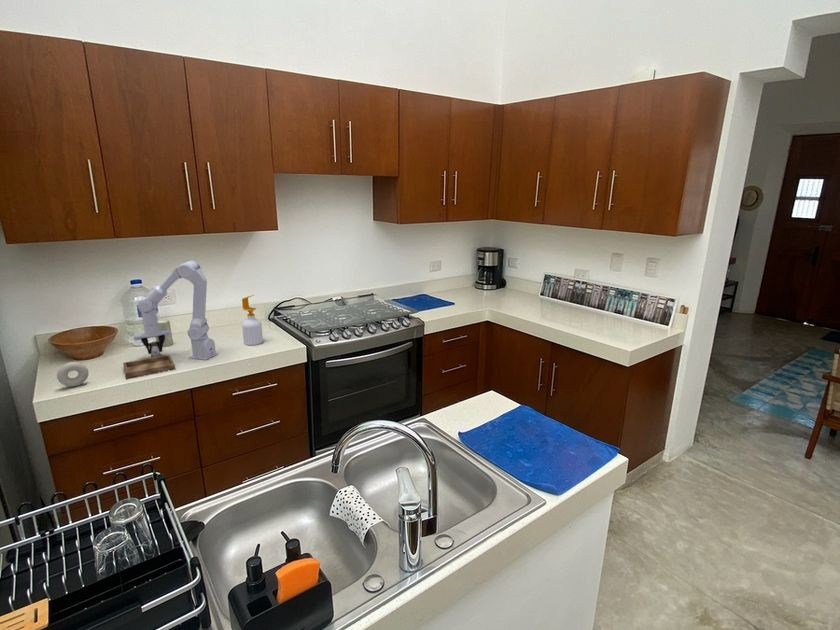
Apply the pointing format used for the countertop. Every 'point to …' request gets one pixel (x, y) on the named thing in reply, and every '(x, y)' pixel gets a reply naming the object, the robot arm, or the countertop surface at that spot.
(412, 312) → the countertop surface
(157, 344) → the steel shaker
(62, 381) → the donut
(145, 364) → the walnut tray
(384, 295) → the countertop surface
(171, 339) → the skincare box
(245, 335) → the soap bottle
